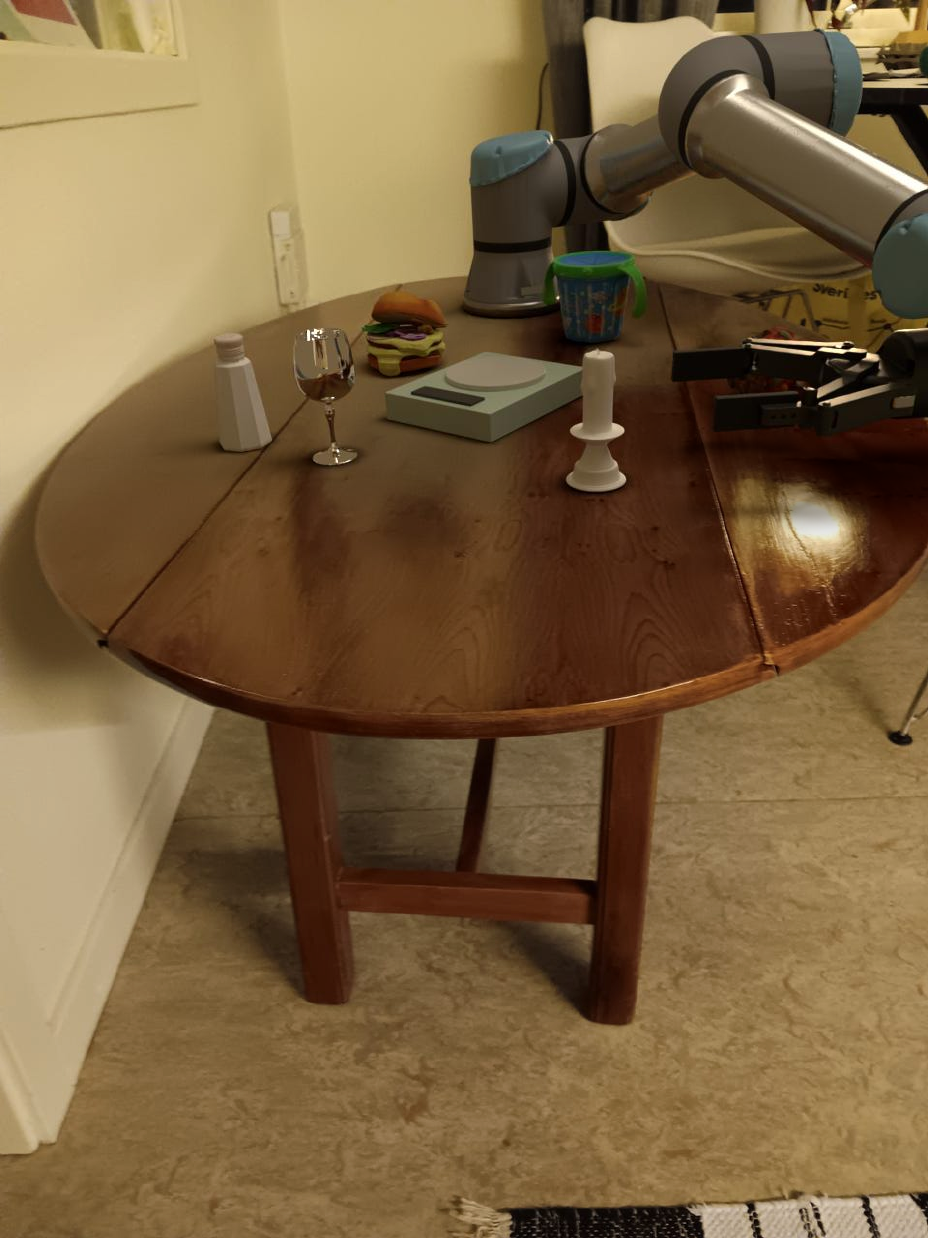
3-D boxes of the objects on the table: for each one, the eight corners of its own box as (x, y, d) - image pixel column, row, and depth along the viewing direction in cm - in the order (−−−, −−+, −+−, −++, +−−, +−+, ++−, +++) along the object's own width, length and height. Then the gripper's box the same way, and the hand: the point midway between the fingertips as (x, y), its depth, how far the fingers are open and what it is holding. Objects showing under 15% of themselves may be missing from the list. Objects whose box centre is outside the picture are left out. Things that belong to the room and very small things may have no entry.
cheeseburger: (348, 374, 118) (347, 289, 115) (387, 371, 127) (387, 292, 124) (423, 378, 114) (424, 290, 111) (457, 375, 124) (459, 293, 121)
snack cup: (523, 335, 131) (522, 257, 125) (578, 320, 136) (579, 244, 131) (607, 356, 120) (609, 271, 115) (663, 339, 125) (667, 257, 120)
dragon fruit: (758, 437, 98) (753, 415, 108) (836, 389, 94) (823, 371, 105) (713, 367, 96) (713, 352, 107) (790, 315, 93) (782, 305, 103)
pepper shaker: (283, 440, 99) (266, 333, 93) (239, 456, 96) (220, 346, 90) (251, 430, 102) (234, 326, 97) (209, 444, 99) (188, 337, 93)
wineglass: (317, 472, 91) (300, 345, 85) (298, 454, 96) (280, 332, 89) (373, 459, 93) (360, 335, 87) (351, 442, 98) (337, 323, 92)
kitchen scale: (486, 375, 115) (485, 346, 113) (586, 393, 108) (586, 361, 106) (387, 419, 103) (384, 386, 101) (490, 442, 96) (489, 407, 94)
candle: (610, 497, 83) (615, 359, 77) (555, 486, 85) (556, 352, 79) (635, 475, 87) (641, 342, 80) (582, 466, 89) (584, 336, 83)
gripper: (1003, 466, 74) (731, 485, 73) (867, 374, 95) (656, 387, 95) (1028, 370, 70) (740, 389, 69) (881, 296, 91) (660, 310, 91)
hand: (691, 388), depth 82 cm, fingers open, 13 cm apart
